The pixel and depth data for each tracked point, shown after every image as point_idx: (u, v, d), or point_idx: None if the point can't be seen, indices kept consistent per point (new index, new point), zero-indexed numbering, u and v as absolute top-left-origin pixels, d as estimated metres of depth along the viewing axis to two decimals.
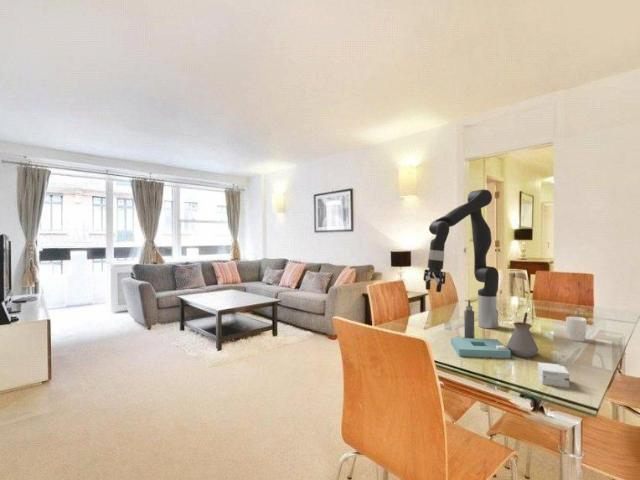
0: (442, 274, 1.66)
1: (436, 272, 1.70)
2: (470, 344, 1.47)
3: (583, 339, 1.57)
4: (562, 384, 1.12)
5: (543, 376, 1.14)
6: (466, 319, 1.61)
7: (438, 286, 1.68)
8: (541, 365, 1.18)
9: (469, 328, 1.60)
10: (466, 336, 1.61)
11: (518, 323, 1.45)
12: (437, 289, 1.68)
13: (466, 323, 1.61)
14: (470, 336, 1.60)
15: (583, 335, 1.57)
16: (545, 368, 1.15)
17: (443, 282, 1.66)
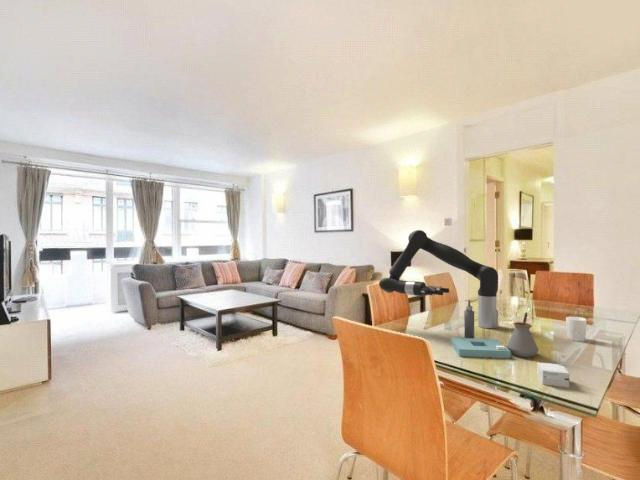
0: (423, 292, 1.69)
1: None
2: (470, 344, 1.47)
3: (583, 339, 1.57)
4: (562, 384, 1.12)
5: (543, 376, 1.14)
6: (466, 319, 1.61)
7: (436, 294, 1.67)
8: (541, 365, 1.18)
9: (469, 328, 1.60)
10: (466, 336, 1.61)
11: (518, 323, 1.45)
12: (440, 294, 1.66)
13: (466, 323, 1.61)
14: (470, 336, 1.60)
15: (583, 335, 1.57)
16: (545, 368, 1.15)
17: (430, 292, 1.66)
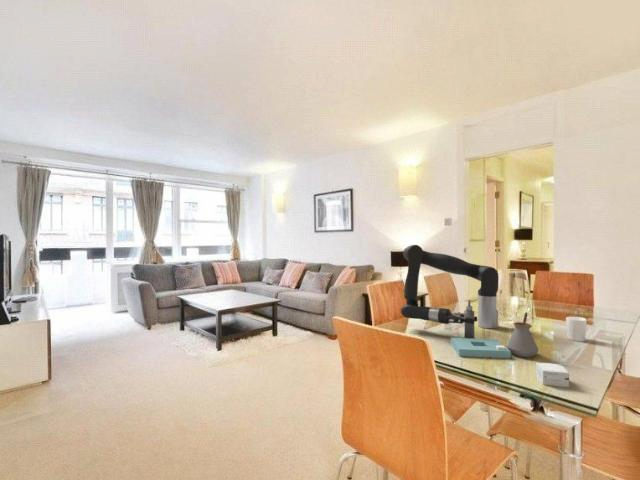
0: (452, 321, 1.61)
1: None
2: (470, 344, 1.47)
3: (583, 339, 1.57)
4: (562, 383, 1.12)
5: (543, 376, 1.14)
6: None
7: (467, 322, 1.59)
8: (540, 365, 1.18)
9: (469, 328, 1.60)
10: (466, 336, 1.61)
11: (518, 323, 1.45)
12: (471, 323, 1.59)
13: (466, 323, 1.61)
14: (470, 336, 1.60)
15: (583, 335, 1.57)
16: (545, 368, 1.15)
17: (461, 320, 1.59)
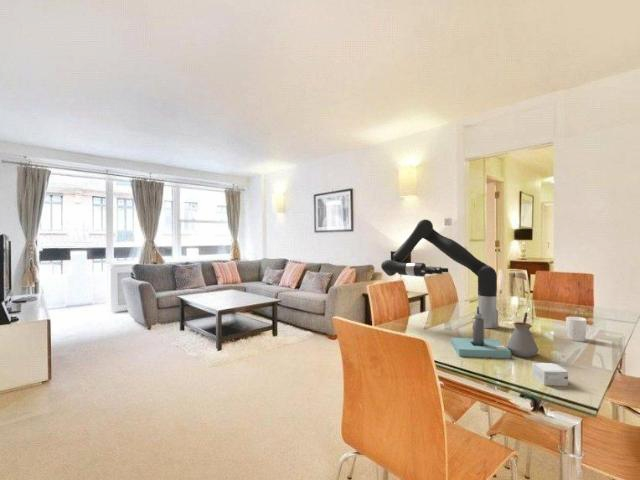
0: (423, 272, 1.76)
1: None
2: (470, 344, 1.47)
3: (583, 339, 1.57)
4: (562, 383, 1.12)
5: (544, 377, 1.13)
6: (475, 328, 1.46)
7: (436, 273, 1.74)
8: (538, 366, 1.17)
9: (478, 337, 1.45)
10: None
11: (518, 323, 1.45)
12: (439, 273, 1.73)
13: (475, 332, 1.46)
14: None
15: (583, 335, 1.57)
16: (545, 368, 1.15)
17: (430, 271, 1.74)
